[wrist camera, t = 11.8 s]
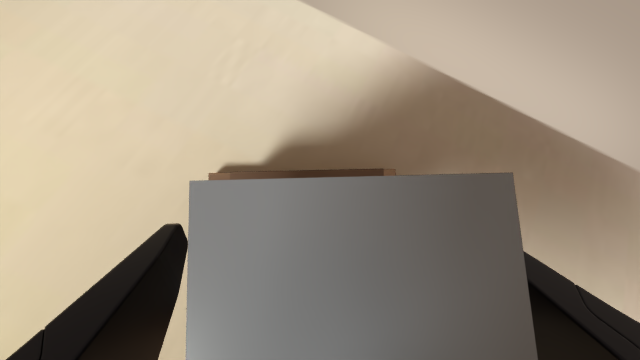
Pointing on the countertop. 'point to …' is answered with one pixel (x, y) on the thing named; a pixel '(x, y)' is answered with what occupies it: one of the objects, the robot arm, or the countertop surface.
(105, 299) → the robot arm
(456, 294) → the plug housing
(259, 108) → the countertop surface
